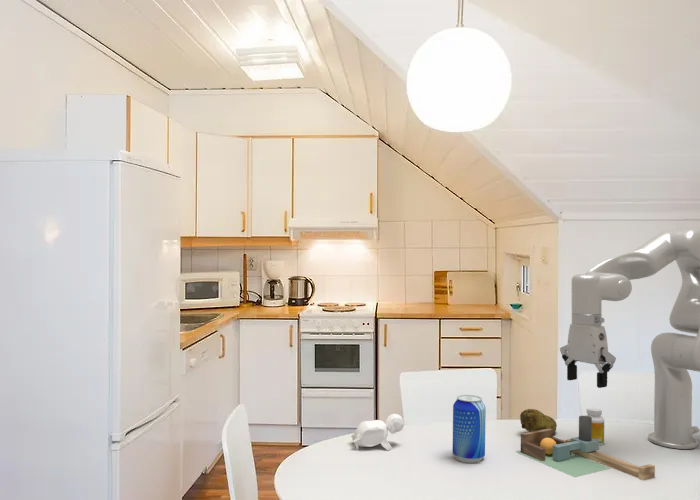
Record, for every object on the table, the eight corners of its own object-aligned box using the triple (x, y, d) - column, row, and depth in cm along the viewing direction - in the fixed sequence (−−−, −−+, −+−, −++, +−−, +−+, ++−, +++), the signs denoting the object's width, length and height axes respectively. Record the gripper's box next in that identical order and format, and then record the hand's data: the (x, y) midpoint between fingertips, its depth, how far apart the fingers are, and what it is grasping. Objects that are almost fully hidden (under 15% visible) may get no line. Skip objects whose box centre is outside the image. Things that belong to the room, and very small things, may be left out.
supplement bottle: (606, 446, 164) (606, 412, 164) (585, 445, 165) (586, 410, 165) (601, 440, 169) (602, 407, 169) (582, 439, 170) (582, 406, 170)
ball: (557, 435, 156) (563, 451, 155) (546, 438, 160) (551, 454, 158) (545, 437, 154) (551, 454, 153) (534, 440, 158) (539, 457, 156)
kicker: (583, 449, 160) (584, 413, 160) (599, 455, 156) (599, 418, 156) (547, 457, 154) (548, 420, 154) (562, 463, 149) (563, 425, 149)
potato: (566, 438, 171) (567, 411, 171) (527, 441, 168) (527, 413, 168) (551, 429, 179) (551, 403, 179) (513, 432, 176) (513, 405, 176)
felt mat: (549, 445, 164) (549, 444, 164) (610, 469, 147) (610, 468, 147) (515, 452, 158) (515, 451, 158) (574, 477, 141) (574, 477, 141)
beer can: (490, 458, 153) (491, 397, 153) (474, 466, 147) (475, 403, 147) (463, 450, 159) (464, 392, 159) (446, 458, 153) (447, 397, 153)
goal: (549, 446, 163) (549, 428, 163) (571, 454, 156) (571, 436, 156) (520, 452, 158) (520, 433, 158) (541, 461, 151) (542, 441, 151)
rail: (576, 448, 162) (576, 437, 162) (654, 477, 141) (654, 465, 141) (565, 450, 160) (565, 440, 160) (643, 481, 139) (643, 468, 139)
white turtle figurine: (362, 463, 157) (412, 440, 159) (351, 434, 157) (401, 412, 159) (357, 452, 166) (405, 431, 168) (346, 425, 165) (394, 404, 167)
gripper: (624, 322, 151) (624, 388, 151) (570, 316, 166) (570, 375, 166) (604, 324, 147) (604, 392, 147) (551, 317, 163) (551, 378, 163)
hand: (586, 383), depth 157 cm, fingers open, 9 cm apart
